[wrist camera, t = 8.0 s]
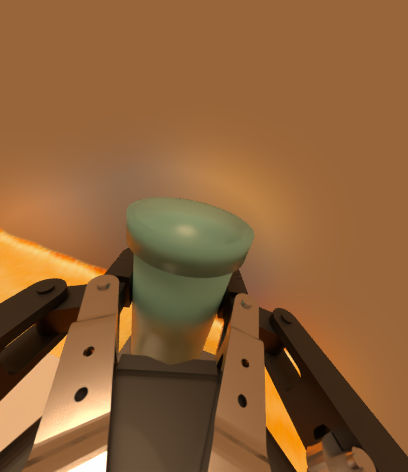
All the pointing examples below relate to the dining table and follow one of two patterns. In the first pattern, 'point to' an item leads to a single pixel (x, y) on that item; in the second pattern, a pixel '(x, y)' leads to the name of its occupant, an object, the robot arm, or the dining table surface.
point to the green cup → (180, 273)
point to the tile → (26, 400)
